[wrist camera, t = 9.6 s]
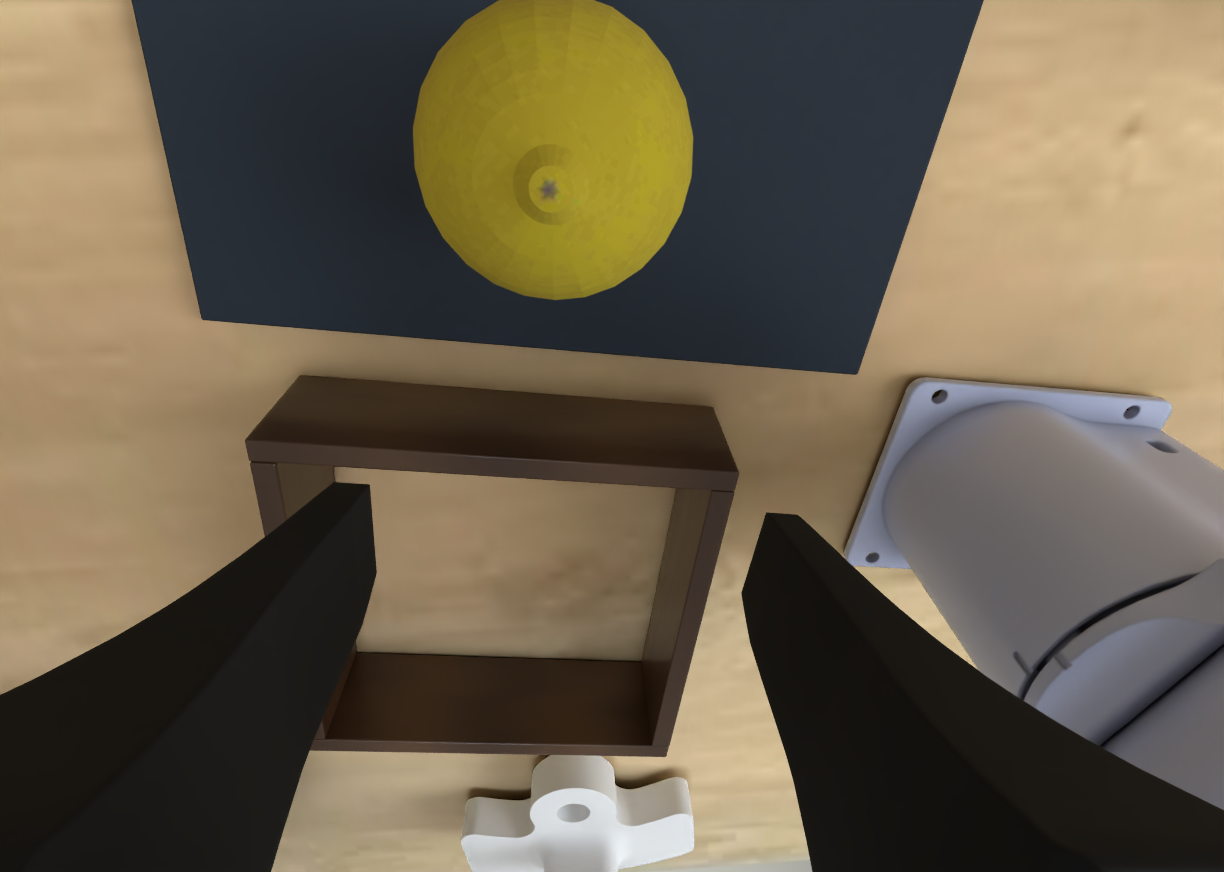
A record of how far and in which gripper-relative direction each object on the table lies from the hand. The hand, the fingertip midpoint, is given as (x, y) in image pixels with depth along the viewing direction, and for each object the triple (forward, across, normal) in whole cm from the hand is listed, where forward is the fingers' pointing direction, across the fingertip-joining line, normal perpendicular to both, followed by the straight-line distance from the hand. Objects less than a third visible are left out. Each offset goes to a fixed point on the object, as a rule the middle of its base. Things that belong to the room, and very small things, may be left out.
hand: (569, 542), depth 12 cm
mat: (+10, +1, -6) cm, 11 cm away
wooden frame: (+10, +2, +9) cm, 13 cm away
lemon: (+9, +1, -6) cm, 11 cm away
